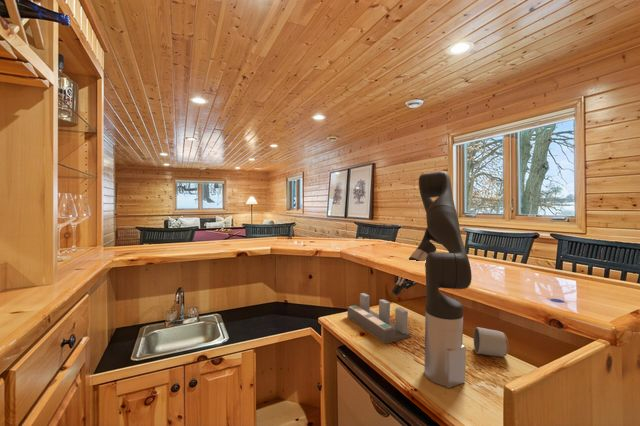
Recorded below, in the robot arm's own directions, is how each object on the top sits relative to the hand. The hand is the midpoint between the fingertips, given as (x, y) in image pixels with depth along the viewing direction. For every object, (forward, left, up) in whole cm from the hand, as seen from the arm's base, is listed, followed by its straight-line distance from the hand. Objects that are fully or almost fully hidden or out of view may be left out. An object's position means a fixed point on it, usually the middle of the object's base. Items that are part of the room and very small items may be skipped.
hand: (394, 293), depth 122 cm
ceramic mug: (-37, -7, -9) cm, 38 cm away
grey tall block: (-17, +11, -7) cm, 21 cm away
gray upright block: (-7, +11, -7) cm, 15 cm away
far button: (+2, +13, -7) cm, 15 cm away
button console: (-7, +14, -8) cm, 18 cm away
